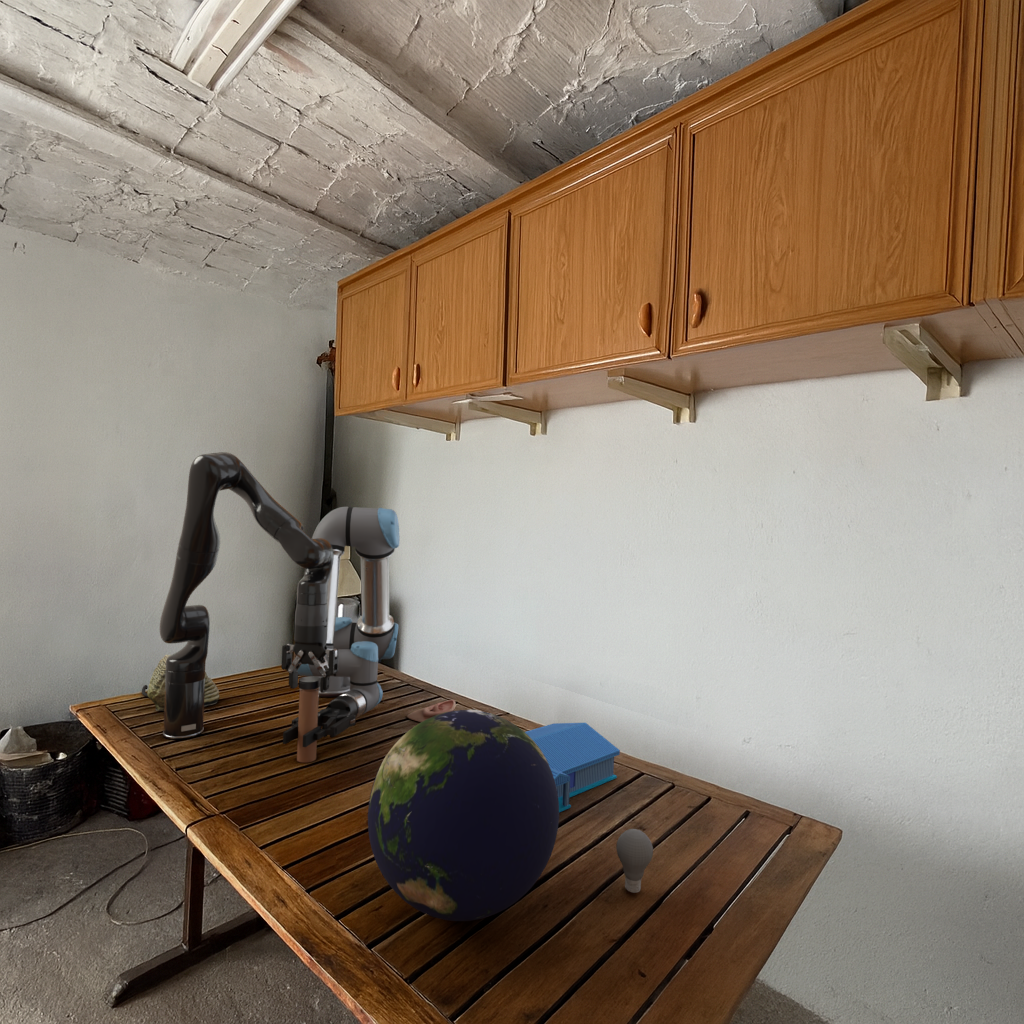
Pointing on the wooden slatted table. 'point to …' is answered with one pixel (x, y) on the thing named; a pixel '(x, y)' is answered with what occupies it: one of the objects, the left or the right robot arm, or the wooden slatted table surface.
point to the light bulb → (634, 857)
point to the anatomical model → (432, 711)
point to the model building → (575, 757)
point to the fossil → (158, 687)
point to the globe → (463, 815)
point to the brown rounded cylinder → (307, 723)
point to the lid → (309, 682)
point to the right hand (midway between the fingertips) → (294, 739)
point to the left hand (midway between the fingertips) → (308, 689)
